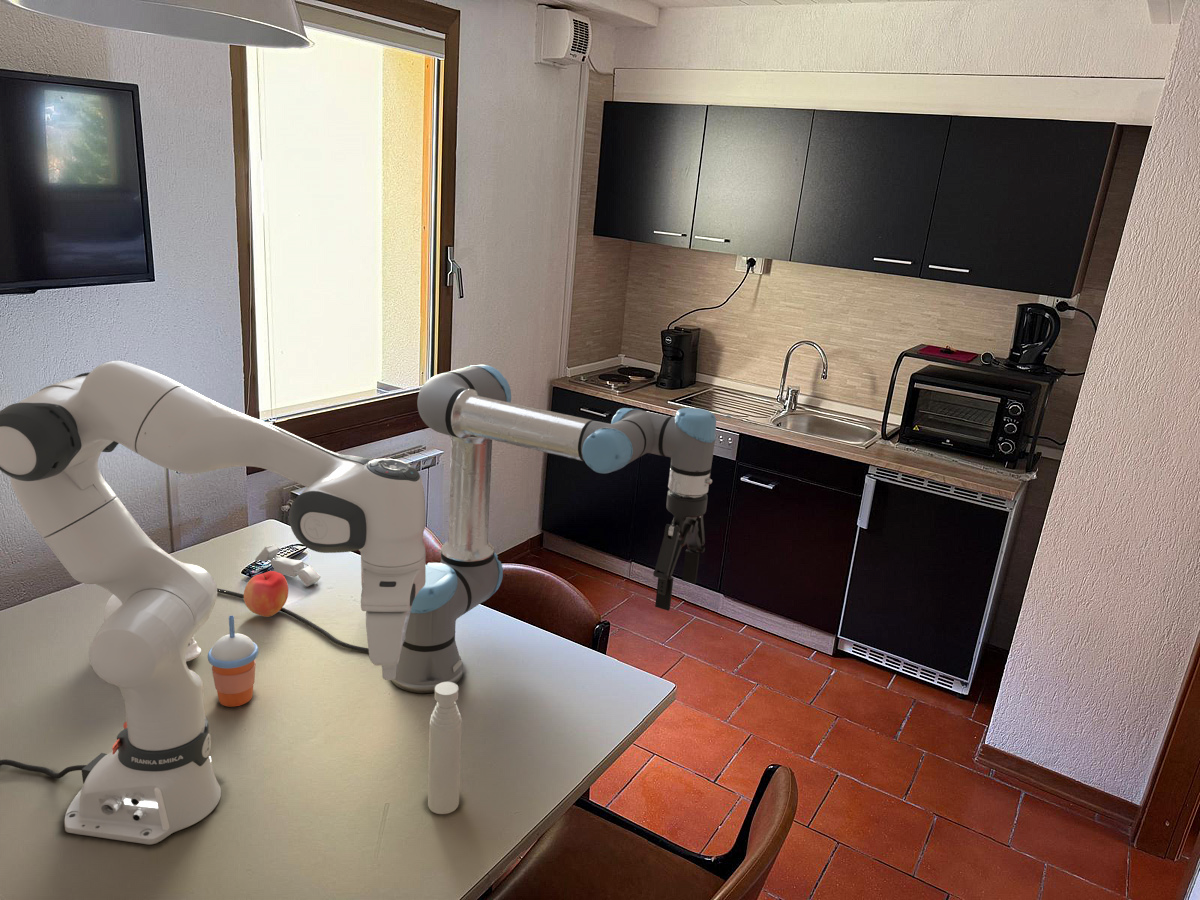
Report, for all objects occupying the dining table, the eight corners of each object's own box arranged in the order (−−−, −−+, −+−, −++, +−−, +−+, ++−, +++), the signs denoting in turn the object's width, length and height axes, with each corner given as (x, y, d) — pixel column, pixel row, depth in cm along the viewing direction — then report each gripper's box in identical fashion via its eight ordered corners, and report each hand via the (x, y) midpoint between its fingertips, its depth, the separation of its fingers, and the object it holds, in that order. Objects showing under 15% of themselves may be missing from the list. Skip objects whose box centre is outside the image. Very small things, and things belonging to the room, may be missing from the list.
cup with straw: (242, 715, 164) (238, 631, 158) (200, 706, 165) (194, 623, 160) (269, 689, 172) (266, 609, 167) (229, 681, 174) (224, 602, 168)
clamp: (253, 565, 223) (254, 542, 221) (265, 560, 226) (266, 537, 224) (309, 593, 215) (310, 569, 213) (320, 588, 218) (321, 564, 216)
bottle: (464, 798, 147) (468, 685, 140) (449, 817, 142) (453, 702, 136) (437, 789, 148) (440, 678, 142) (422, 809, 144) (424, 694, 137)
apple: (273, 600, 207) (272, 562, 204) (297, 613, 202) (296, 575, 199) (237, 614, 200) (234, 575, 197) (261, 628, 194) (259, 588, 191)
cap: (462, 694, 140) (462, 685, 140) (451, 706, 137) (451, 697, 136) (441, 688, 141) (441, 679, 141) (430, 700, 138) (430, 691, 137)
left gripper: (381, 542, 130) (382, 623, 134) (358, 606, 110) (360, 698, 115) (423, 543, 131) (423, 623, 135) (407, 606, 111) (408, 698, 115)
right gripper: (681, 516, 147) (669, 626, 153) (728, 478, 168) (716, 576, 174) (642, 506, 150) (631, 614, 156) (693, 470, 171) (682, 566, 178)
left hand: (394, 659), depth 124 cm, fingers open, 8 cm apart
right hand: (676, 594), depth 165 cm, fingers open, 13 cm apart
